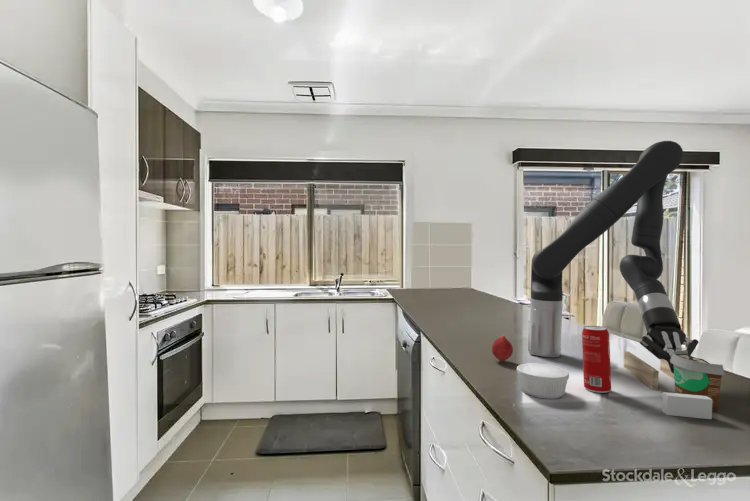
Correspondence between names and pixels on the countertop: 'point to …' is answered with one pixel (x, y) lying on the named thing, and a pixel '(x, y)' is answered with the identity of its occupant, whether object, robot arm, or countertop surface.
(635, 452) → the countertop surface
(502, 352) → the onion
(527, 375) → the ramekin
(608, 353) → the beverage can
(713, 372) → the food container
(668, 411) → the white rectangular block
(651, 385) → the chute
